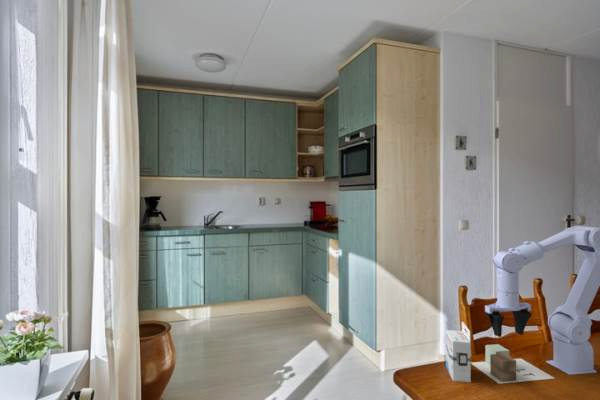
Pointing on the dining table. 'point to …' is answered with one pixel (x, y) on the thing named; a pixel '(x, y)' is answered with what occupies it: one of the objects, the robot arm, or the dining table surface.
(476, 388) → the dining table surface
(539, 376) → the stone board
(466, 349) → the ink box
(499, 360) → the walnut block
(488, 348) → the sage block
